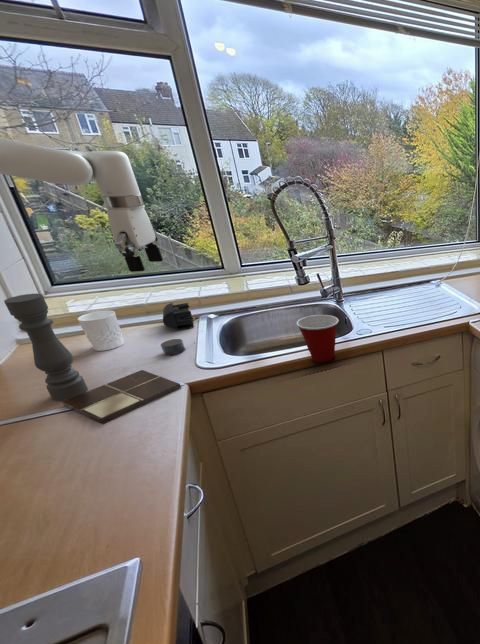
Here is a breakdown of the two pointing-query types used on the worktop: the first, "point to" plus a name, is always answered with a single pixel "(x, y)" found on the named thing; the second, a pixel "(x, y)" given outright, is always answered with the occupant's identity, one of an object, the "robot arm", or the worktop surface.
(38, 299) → the candle holder
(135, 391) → the grid board
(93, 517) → the worktop surface
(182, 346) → the slate stone
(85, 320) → the white cup
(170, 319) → the end cap
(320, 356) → the plastic cup
